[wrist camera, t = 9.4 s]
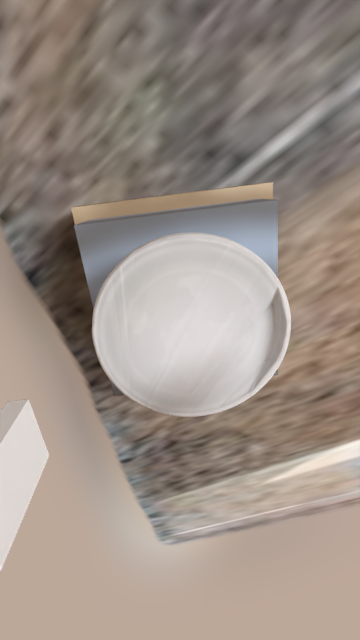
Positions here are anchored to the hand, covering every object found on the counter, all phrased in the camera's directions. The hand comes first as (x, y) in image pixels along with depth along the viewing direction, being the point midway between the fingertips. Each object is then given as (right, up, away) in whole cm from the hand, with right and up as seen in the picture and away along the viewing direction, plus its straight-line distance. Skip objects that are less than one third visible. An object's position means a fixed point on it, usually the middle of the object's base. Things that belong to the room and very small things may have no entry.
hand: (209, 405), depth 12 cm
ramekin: (-1, +4, +11) cm, 12 cm away
